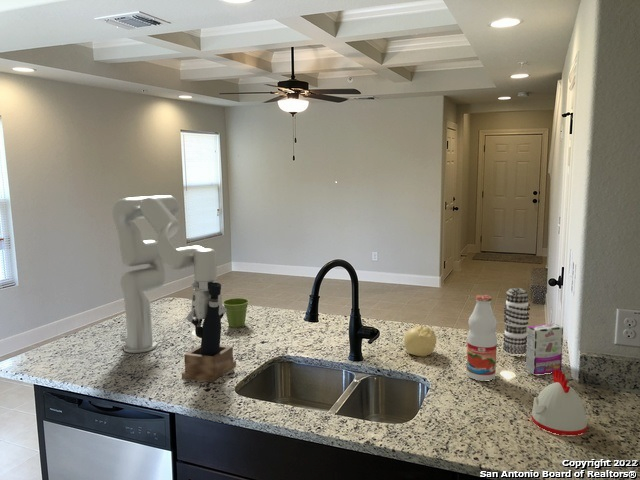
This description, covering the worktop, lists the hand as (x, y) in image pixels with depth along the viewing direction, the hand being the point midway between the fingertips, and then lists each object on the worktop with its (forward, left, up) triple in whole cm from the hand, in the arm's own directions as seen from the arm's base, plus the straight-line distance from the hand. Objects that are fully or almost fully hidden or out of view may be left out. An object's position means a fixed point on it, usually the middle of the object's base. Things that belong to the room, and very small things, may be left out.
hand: (207, 334), depth 178 cm
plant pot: (-17, +49, -14) cm, 53 cm away
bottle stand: (0, 0, -13) cm, 13 cm away
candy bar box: (+110, +37, -14) cm, 117 cm away
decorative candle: (+101, +53, -14) cm, 115 cm away
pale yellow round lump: (+67, +41, -14) cm, 80 cm away
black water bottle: (0, 0, -11) cm, 11 cm away
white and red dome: (+112, 0, -14) cm, 113 cm away
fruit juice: (+90, +26, -14) cm, 95 cm away
